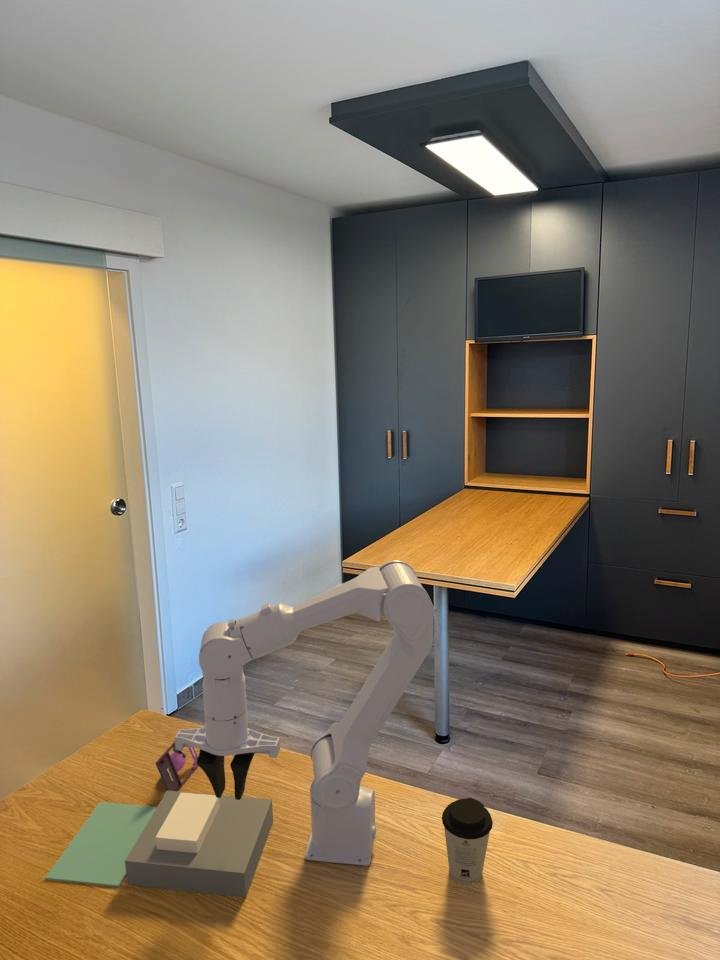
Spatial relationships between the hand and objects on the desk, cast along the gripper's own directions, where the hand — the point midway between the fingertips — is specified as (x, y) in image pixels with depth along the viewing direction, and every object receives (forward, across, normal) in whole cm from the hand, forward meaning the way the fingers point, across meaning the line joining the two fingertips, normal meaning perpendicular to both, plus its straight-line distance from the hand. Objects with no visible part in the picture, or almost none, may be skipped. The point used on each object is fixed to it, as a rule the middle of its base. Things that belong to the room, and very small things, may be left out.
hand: (230, 793), depth 94 cm
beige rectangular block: (+6, +6, 0) cm, 9 cm away
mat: (+11, +20, 0) cm, 22 cm away
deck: (+10, +4, 0) cm, 11 cm away
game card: (+11, +15, -15) cm, 24 cm away
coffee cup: (+10, -34, -1) cm, 35 cm away
